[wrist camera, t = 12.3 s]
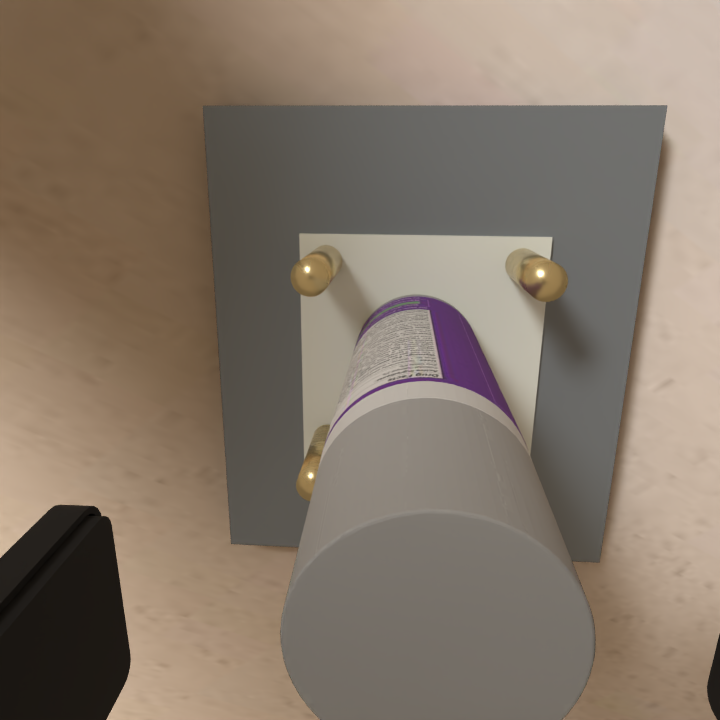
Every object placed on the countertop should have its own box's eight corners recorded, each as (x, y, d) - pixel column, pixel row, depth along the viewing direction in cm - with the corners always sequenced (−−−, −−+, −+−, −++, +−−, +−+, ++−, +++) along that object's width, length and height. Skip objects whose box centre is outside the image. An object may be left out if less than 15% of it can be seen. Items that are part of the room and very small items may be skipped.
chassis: (215, 111, 22) (201, 104, 20) (649, 110, 21) (669, 104, 19) (240, 525, 27) (229, 546, 26) (588, 542, 26) (601, 565, 25)
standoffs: (310, 244, 22) (290, 257, 18) (539, 248, 21) (570, 262, 17) (313, 451, 24) (296, 501, 20) (519, 458, 23) (542, 512, 20)
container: (496, 380, 23) (655, 720, 8) (388, 427, 24) (362, 807, 9) (445, 272, 22) (526, 447, 7) (334, 326, 22) (210, 577, 8)
